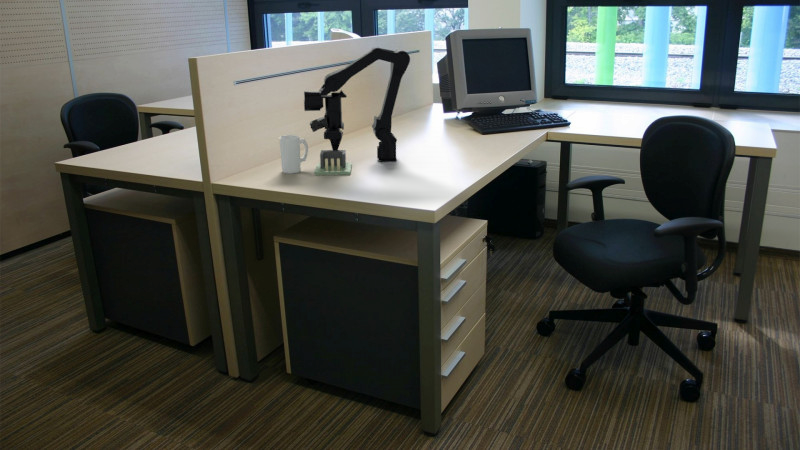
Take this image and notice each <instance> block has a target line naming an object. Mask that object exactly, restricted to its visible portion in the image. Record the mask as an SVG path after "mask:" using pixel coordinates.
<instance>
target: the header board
mask: <svg viewBox="0 0 800 450" xmlns="http://www.w3.org/2000/svg"><path fill="white" fill-rule="evenodd" d="M351 172H352V162H346V168H343V166H340V159H337V166H334V159H331V166H328V159H325V166H324V169H321V165H320V162H317V163H316V166H315V169H314V176H329V175H331V176H338V175H340V176H344V175H345V176H348V175H351Z"/></svg>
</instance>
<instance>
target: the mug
mask: <svg viewBox="0 0 800 450" xmlns="http://www.w3.org/2000/svg"><path fill="white" fill-rule="evenodd" d="M301 144H302V145H303V146H304V153H303V155H302V157H301ZM279 148H280V150H279V151H280V162H281V169H282V170H281V171H282V173H283V174H288V175H289V174H291V175H292V174H297V173H300V172H301V169H302V168H301V164H302V162H306V160H307V156H308V154H309V146H308V143H307V141H306V139H305V138H304V137H303V138H300V135H297V134H285V135H284V134H283V135H281V136H279Z"/></svg>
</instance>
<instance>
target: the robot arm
mask: <svg viewBox="0 0 800 450" xmlns="http://www.w3.org/2000/svg"><path fill="white" fill-rule="evenodd" d="M378 60H381V61H383V62H384V61H385V62H388V63H390V73H389V79H388V83H387V86H386V90H385V94H384V95H385V96H384V100H383V103H382V106H381V109H380V113H379V115H378V116H375V115H374V117H373V123H372V125H371V128H372V133H373V134H374V136H375V138H376V139H377V140H379V141H378V145H377V146H376V148H377V150H376V153H377V155H376V156H377V157H376V158H377V159H378V162H397V141H398V139H397V137H396V136H395V135H394V134H393V133H392V121H393V120H392V115H393V111H394V108H395V105H396V102H397V97H398V93H399V88H400V86H401V82H402V78H403V76H404V74H405V73H406V71H407V69H408V66H409V65H410V62H411V56H410V55H409V53H408V52H406V51H405V50H403V49H400V48H399V49H396V50H390V49H386V48H382V47H379V46H374V47H372V48H371V49H370V50H369V51H367V52H366V53H364V54H363V55H361V56H360V57H358V58H356V59H355V60H354V61H352V62H351V63H349V64H347V65H346V66H345V67H343V68H341V69H337V70H334V71H332V72H330V73H328V74H326V75H325V76H324V79H323V84H322V86H321V87H320V89H319V90H318V91H308V90H305V91H304V92H303V95H304V97H303V98H304V99H303V108H304V109H303V111H304V112H316V111H319V112H320V111H321V109H323V108H324V107H325V109H324V110H325V113H324V114H323V115H324V116H322V117H318V118H315V119H312V120H311V121H310V122H309V126H310V129H311V130H312V132H313V133H315V132H317V131H319V130H321V129H323V128H324V130H325V131H324V132H323V139H324V140H329V142H330V145H331V150H339V147H340V144H341V142H342V139H343V135H344V132H343V131H344V130H345V123H344V122H343V111H342V110H343V109H342V99H343V98H347V97H348V96H347V94H346V93H344V91H343V90H342V87H343V86H345V85H346V84H347V82H348V81H349V80H350V79H351V78H353V77H354V76H356V75H357V74H358V73H360V72H361V71H363V70H364V69H366V68H368V67H369V66H370V65H372V64H374V63H375V62H376V61H378ZM339 90H340V91H339ZM324 105H325V106H324Z"/></svg>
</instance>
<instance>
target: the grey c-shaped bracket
mask: <svg viewBox="0 0 800 450" xmlns="http://www.w3.org/2000/svg"><path fill="white" fill-rule="evenodd" d="M346 151H347V150H346V149H338V150H332V149H329V150H327V149H325V150H324V149H323V150H320V154H319V161H320V162H319V163H320V165H321V169H324V166H325V159H328V166H331V159H334V166H337V159H340V166H343V168H346V163H347V154H346V153H347V152H346Z"/></svg>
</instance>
